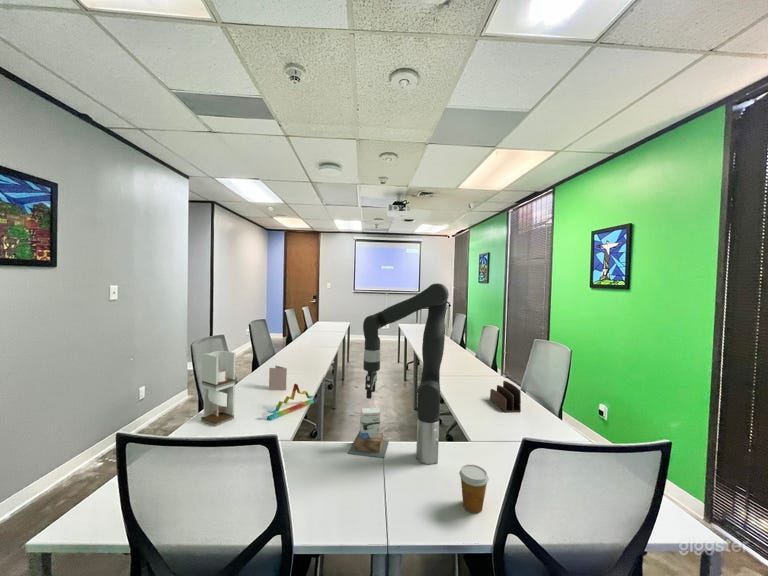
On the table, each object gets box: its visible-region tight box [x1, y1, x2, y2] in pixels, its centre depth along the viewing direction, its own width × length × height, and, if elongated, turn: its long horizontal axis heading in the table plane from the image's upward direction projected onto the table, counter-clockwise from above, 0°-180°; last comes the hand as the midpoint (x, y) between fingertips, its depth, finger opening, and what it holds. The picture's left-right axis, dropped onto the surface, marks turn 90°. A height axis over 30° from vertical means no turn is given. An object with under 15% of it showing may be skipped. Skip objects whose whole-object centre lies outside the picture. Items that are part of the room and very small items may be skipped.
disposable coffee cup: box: [458, 463, 490, 514], centre depth 105 cm, size 10×10×12 cm
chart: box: [266, 383, 315, 421], centre depth 177 cm, size 30×3×15 cm, turn 146°
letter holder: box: [489, 380, 522, 414], centre depth 195 cm, size 10×20×14 cm, turn 8°
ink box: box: [359, 407, 381, 439], centre depth 140 cm, size 8×5×12 cm, turn 101°
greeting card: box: [268, 364, 288, 391], centre depth 210 cm, size 11×7×15 cm, turn 58°
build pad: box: [347, 437, 390, 459], centre depth 141 cm, size 16×14×1 cm
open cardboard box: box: [355, 430, 384, 453], centre depth 141 cm, size 11×8×5 cm
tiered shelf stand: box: [200, 350, 237, 427], centre depth 162 cm, size 11×11×35 cm
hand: (370, 394), depth 140 cm, fingers open, 8 cm apart
